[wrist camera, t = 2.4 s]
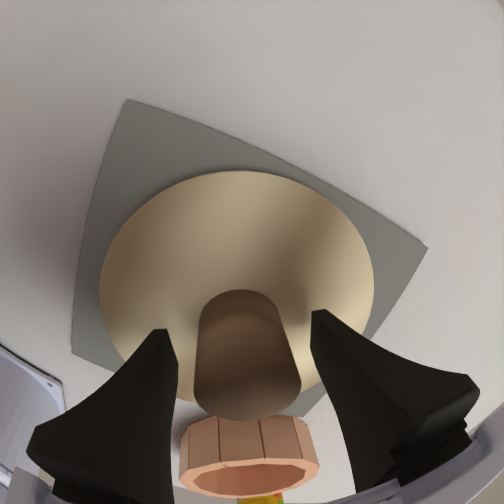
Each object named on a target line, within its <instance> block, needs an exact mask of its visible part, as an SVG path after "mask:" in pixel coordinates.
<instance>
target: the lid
mask: <svg viewBox="0 0 504 504" xmlns="http://www.w3.org/2000/svg"><path fill="white" fill-rule="evenodd" d="M373 294H374V277H373V269H372V264H371V260H370V256H369V253H368V251H367V248H366V246H365V243H364V241H363V239H362V237H361V236H360V234H359V232H358V231H357V229H356V227H355V226H354V225H353V223H352V222H351V221H350V220H349V219H348V217H347V216H346V215H345V214H344V213H343V212H342V211H341V210H340V209H339V208H338V207H336V206H335V205H334V204H333V203H332V202H331V201H330V200H328V199H327V198H325V197H324V196H322V195H320V194H319V193H317V192H316V191H314V190H312V189H311V188H309V187H307V186H304V185H302V184H300V183H297V182H295V181H293V180H290V179H288V178H285V177H281V176H277V175H273V174H269V173H265V172H256V171H246V170H236V171H220V172H214V173H209V174H204V175H199V176H196V177H193V178H190V179H188V180H185V181H182V182H179V183H177V184H175V185H173V186H171V187H169V188H168V189H166V190H164V191H162V192H160V193H159V194H157V195H156V196H155V197H153V198H152V199H151V200H149V201H148V202H147V203H145V204H144V205H143V206H141V207H140V208H139V209H138V210H137V211H136V212H135V213H134V214H133V215H132V216H131V217H130V218H129V219H128V220H127V221H126V222H125V223H124V225H123V226H122V228H121V229H120V230H119V232H118V233H117V235H116V236H115V238H114V239H113V241H112V243H111V245H110V247H109V250H108V252H107V254H106V256H105V260H104V263H103V267H102V270H101V276H100V284H99V300H100V308H101V314H102V318H103V322H104V325H105V327H106V330H107V333H108V335H109V337H110V339H111V341H112V343H113V345H114V347H115V348H116V349H117V351H118V352H119V354H120V355H121V357H122V358H123V359H124V360H125V361H127V360H128V359H129V358H130V356H131V355H132V354H133V353H134V352H135V350H136V349H137V348H138V347H139V346H140V344H141V343H142V342H143V341H144V340H145V338H146V337H147V336H148V335H149V334H150V332H151V331H152V330H153V329H165V328H167V331H168V334H169V337H170V340H171V343H172V346H173V349H174V352H175V354H176V357H177V360H178V363H179V370H178V387H177V393H176V397H177V398H179V399H182V400H185V401H188V402H192V403H195V404H199V406H200V407H201V408H202V409H204V410H205V411H206V412H208V413H210V414H211V415H214V416H216V417H219V418H222V419H226V420H232V421H253V420H259V419H263V418H267V417H270V416H273V415H275V414H277V413H279V412H281V411H283V410H284V409H286V408H287V407H289V406H290V405H291V404H292V403H293V402H294V401H295V400H296V398H297V397H298V395H299V393H301V392H303V391H305V390H307V389H309V388H310V387H312V386H314V385H315V384H317V383H319V382H320V381H321V378H320V376H319V373H318V371H317V369H316V367H315V363H314V360H313V357H312V354H311V350H310V333H311V311H315V310H320V309H327V310H328V311H329V312H331V313H332V314H333V315H335V316H336V317H337V318H338V319H340V320H341V321H342V322H344V323H345V324H346V325H348V326H349V327H351V328H352V329H353V330H355V331H356V332H358V333H359V334H361V335H362V333H363V331H364V329H365V327H366V324H367V322H368V319H369V316H370V312H371V308H372V303H373Z"/></svg>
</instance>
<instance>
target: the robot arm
mask: <svg viewBox="0 0 504 504" xmlns="http://www.w3.org/2000/svg"><path fill="white" fill-rule="evenodd" d="M310 350H311V354H312V357H313V360H314V363H315V367H316V369H317V371H318V373H319V376H320V378H321V380H322V382H323V385H324V387H325V389H326V391H327V393H328V395H329V398H330V400H331V402H332V404H333V406H334V409H335V411H336V414H337V417H338V420H339V423H340V427H341V430H342V433H343V437H344V441H345V444H346V448H347V452H348V456H349V460H350V464H351V469H352V474H353V479H354V484H355V490H356V494H354V495H351V496H348V497H344V498H341V499H338V500H334V501H331V502H327V503H323V504H380V503H382V502H385V501H386V502H385V503H383V504H467V503H468V502H469V501H470V500H472V499H473V498H474V497H475V496H476V495H478V494H479V493H480V492H481V491H482V490H483V489H484V488H486V487H487V486H488V485H489V484H490V483H491V482H492V481H493V480H494V479H495V478H496V477H497V476H498V475H499V474H500V473H501V472H502V471H503V470H504V408H503V407H500V408H499V409H498V410H496V412H494V413H493V414H492V415H491V416H489V417H488V418H487V419H486V420H484V421H483V422H482V423H481V424H480V425H479V427H478V428H477V429H476V430H475V432H474V433H473V434H471V435H470V436H468V434H467V433H466V431H465V428H466V427H467V423H466V422H465V420H464V418H465V417H466V415H467V414H468V413H469V411H470V410H471V409H472V407H473V406H474V405H475V403H476V401H477V400H478V398H479V395H480V389H479V388H478V387H477V385H476V384H475V383H474V382H473V381H472V379H471V378H470V377H469V376H468V375H467V374H461V373H454V372H448V371H443V370H439V369H435V368H431V367H428V366H424V365H421V364H418V363H415V362H413V361H410V360H407V359H405V358H403V357H400V356H398V355H396V354H394V353H392V352H390V351H388V350H386V349H384V348H382V347H380V346H378V345H377V344H375V343H373V342H372V341H370V340H368V339H367V338H365V337H364V336H362V335H361V334H359V333H358V332H356V331H355V330H353V329H352V328H351V327H349V326H348V325H346V324H345V323H344V322H342V321H341V320H340V319H338V318H337V317H336V316H335V315H333V314H332V313H331V312H329V311H328V310H327V309H320V310H315V311H311V333H310ZM178 370H179V363H178V360H177V357H176V354H175V352H174V349H173V346H172V343H171V340H170V337H169V334H168V331H167V328H165V329H153V330H152V331H151V332H150V334H149V335H148V336H147V337H146V338H145V340H144V341H143V342H142V343H141V344H140V346H139V347H138V348H137V349H136V350H135V352H134V353H133V354H132V355H131V356H130V358H129V359H128V360H127V361H126V362H125V363H124V364H123V365H122V366H121V367H120V368H119V370H118V371H117V372H116V373H115V374H114V375H113V376H112V377H111V378H110V379H109V380H108V381H107V382H106V383H105V384H103V385H102V386H101V387H100V388H99V389H98V390H96V391H95V392H94V393H93V394H91V395H90V396H89V397H87V398H86V399H85V400H83V401H82V402H80V403H79V404H78V405H76V406H75V407H73V408H71V409H70V410H68V411H66V409H65V403H64V395H63V387H62V385H61V384H60V383H59V382H58V381H56V380H54V379H52V378H51V377H49V376H47V375H45V374H43V373H42V372H40V371H38V370H36V369H35V368H33V367H31V366H30V365H28V364H26V363H25V362H23V361H22V360H20V359H18V358H17V357H15V356H14V355H12V354H11V353H9V352H8V351H6V350H5V349H4V348H2V347H1V346H0V504H174V496H173V487H172V475H171V426H172V419H173V412H174V406H175V400H176V393H177V387H178ZM40 468H41V469H43V470H44V471H45V472H47V473H48V474H49V475H51V476H52V477H53V478H55V482H54V486H53V487H52V486H49V485H48V484H47V483H46V482H44V481H43V480H41V479H40V478H38V474H39V471H40Z"/></svg>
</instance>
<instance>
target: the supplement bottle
mask: <svg viewBox="0 0 504 504" xmlns="http://www.w3.org/2000/svg"><path fill="white" fill-rule="evenodd" d="M237 504H284V502H283V497H282V492H280V493H277V494H273V495H268V496H260V497H250V498H237Z"/></svg>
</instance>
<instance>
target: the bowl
mask: <svg viewBox="0 0 504 504" xmlns="http://www.w3.org/2000/svg"><path fill="white" fill-rule="evenodd" d="M318 469H319V463H318V459H317V456H316V453H315V449H314V446H313V443H312V439H311V436H310V433H309V429H308V426H307V425H306V424H305V423H303V422H302V421H300V420H299V419H297V418H296V417H295V416H287V415H278V414H275V415H273V416H270V417H267V418H263V419H259V420H253V421H232V420H226V419H222V418H219V417H216V416H214V415H213V416H211V417H208V418H206V419H203V420H201V421H198V422H195V423H193V424H190V425H189V426H188V428H187V430H186V431H185V433H184V434H183V436H182V438H181V445H180V462H179V481H180V482H181V483H182V484H183V485H184V486H185V487H187V488H188V489H189V490H192V491H195V492H199V493H202V494H206V495H209V496H214V497H226V498H250V497H260V496H268V495H273V494H277V493H280V492H284V491H287V490H290V489H294V488H297V487H299V486H301V485H302V484H304V483H306V482H307V481H309V480H311V479H312V478H314V477H315V476H316V474H317V472H318Z"/></svg>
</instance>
